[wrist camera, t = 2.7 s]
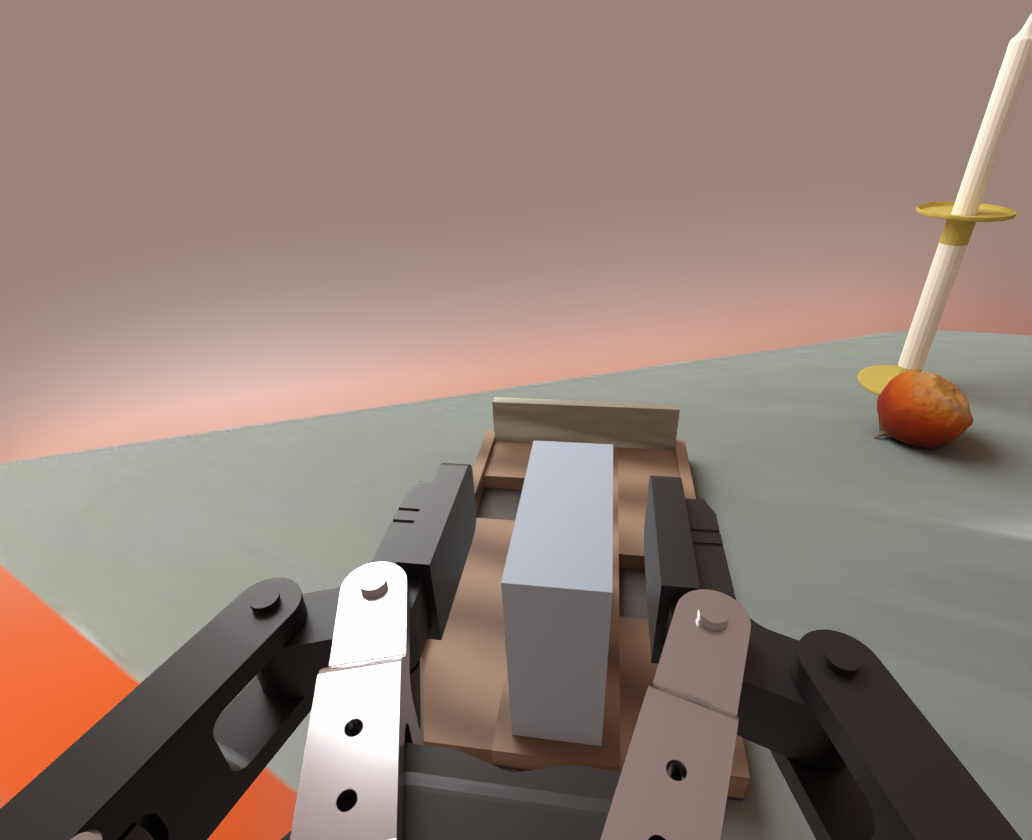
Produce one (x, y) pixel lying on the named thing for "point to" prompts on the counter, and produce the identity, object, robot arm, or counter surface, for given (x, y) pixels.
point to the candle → (961, 214)
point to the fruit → (922, 410)
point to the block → (560, 593)
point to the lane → (478, 601)
